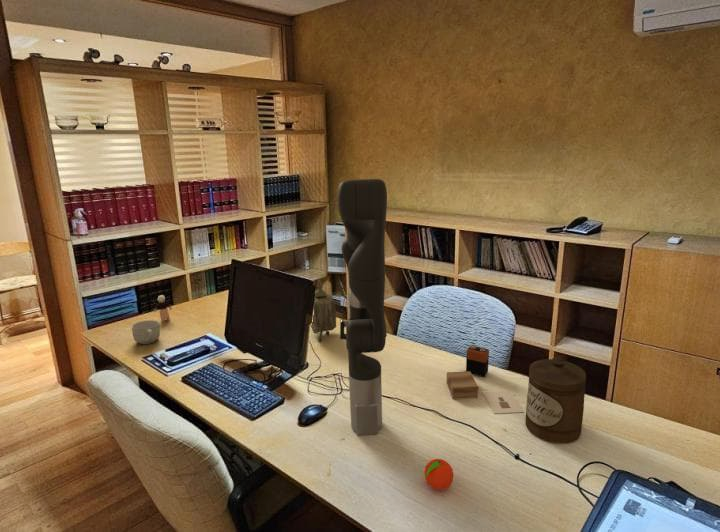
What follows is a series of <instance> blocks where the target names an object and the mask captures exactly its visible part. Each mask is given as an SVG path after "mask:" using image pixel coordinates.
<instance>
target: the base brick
mask: <svg viewBox="0 0 720 532" xmlns="http://www.w3.org/2000/svg"><path fill="white" fill-rule="evenodd" d="M446 385H447V388H448V390H449V392H450V396H451V398H452V399H454V400H458V399H478V396H479V386H478V384H477V382H476V379H475V377H474V375H473V374H471V372H470V371H466V370H465V371H448V372H447V371H446Z"/></svg>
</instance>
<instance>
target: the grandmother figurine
mask: <svg viewBox="0 0 720 532" xmlns="http://www.w3.org/2000/svg"><path fill="white" fill-rule="evenodd" d="M165 300H166V297H165V295H164V294H161V295H158V297H157V302H159V303H158V304H157V303H156V305H155V306H154V310H153V312H154V313H156V312H157V311H159V316H160V322H161V323H165V322H169V321H171V319H172V318H171V317H170V313H169V310H172V309H173V307H172V306H171V304H169V303H168V302H166V301H165ZM168 308H169V310H168Z"/></svg>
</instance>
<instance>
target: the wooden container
mask: <svg viewBox="0 0 720 532" xmlns="http://www.w3.org/2000/svg"><path fill="white" fill-rule="evenodd" d="M586 380H587V374H586V371H585V370H584V369H583V368H582V367H580V366H579V365H577V364H574V363H572V362H570V361H565V359H563V358H562V357H561V356H555V357H552V358H551V359H550V358H547V359H539V360H535V361H533V362H532V363H531V364H530V365H529V369H528V387H527V393H526V394H527V395H526V406H525V426H526V428H527V430H528V431H529V432H530V434H532V435H533V436H534V437H536V438H537V439H541V440H542V441H545V442H549V443H552V444H558V445H559V444H561V445H562V444H563V445H565V444H570V443H574V442H577V440H579V439H580V437H581V435H582V429H583V428H582V427H583V420H584V410H585V409H584V408H585V394H586V382H587V381H586Z"/></svg>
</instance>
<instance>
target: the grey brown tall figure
mask: <svg viewBox="0 0 720 532" xmlns="http://www.w3.org/2000/svg"><path fill="white" fill-rule="evenodd" d="M316 284H317V289H316V290H315V291H314V293H315V302H314V315H313V322H312V325H311V326H310V328H311V330H312V332H313V333H314V334H316V333H319V337H318V338H317V341H318V342H321V341H322V334H323V333H324V332H325V335H328V336H329V335H330V331H333V330H334V329H336V328H337V312H336V302H335V300H334V298H333V297H332V296H331V294H330V293H327V292H326V291H325V290H324V289H322V288H323V286H322V281H321V280H320V279H319V278H317V279H316Z"/></svg>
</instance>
